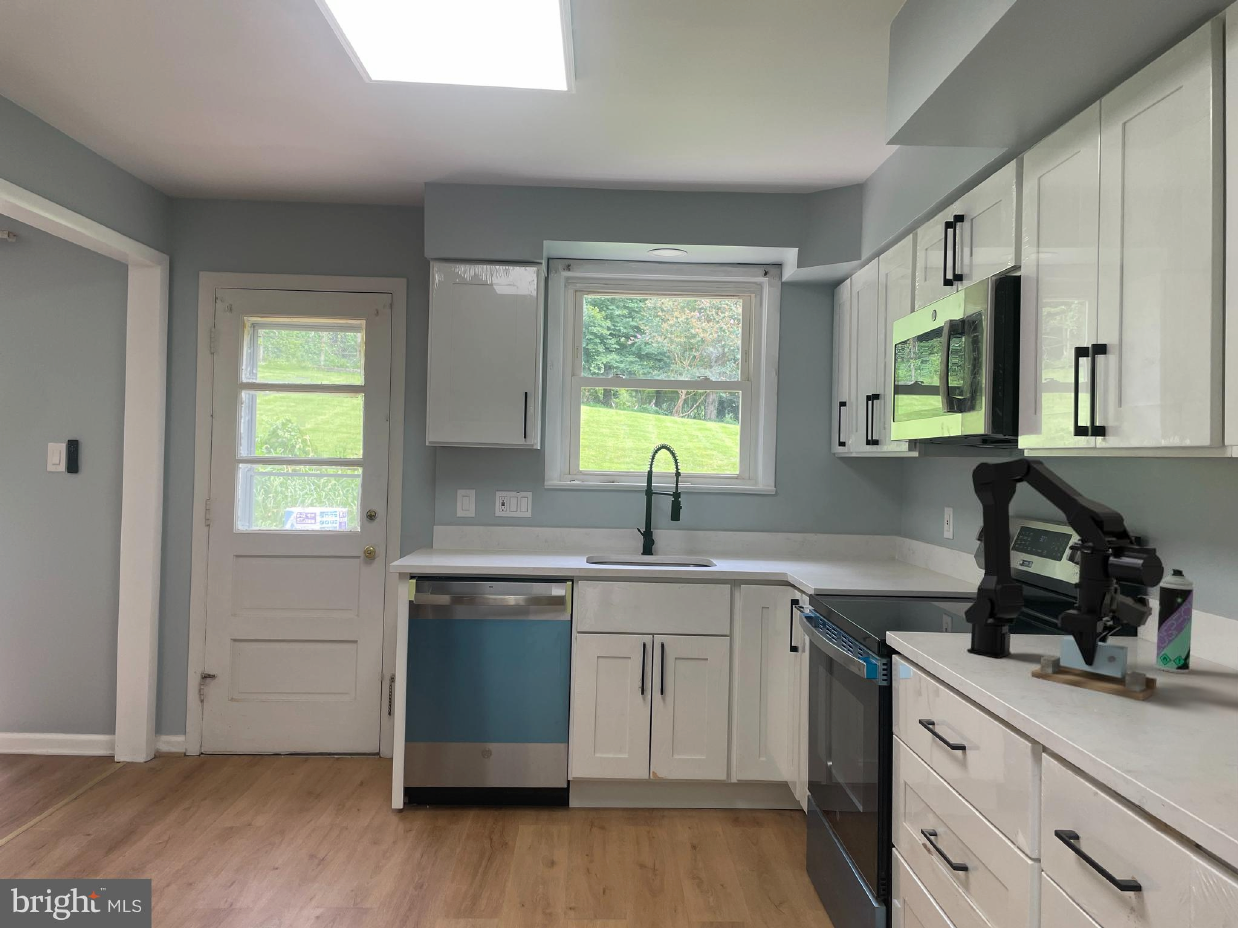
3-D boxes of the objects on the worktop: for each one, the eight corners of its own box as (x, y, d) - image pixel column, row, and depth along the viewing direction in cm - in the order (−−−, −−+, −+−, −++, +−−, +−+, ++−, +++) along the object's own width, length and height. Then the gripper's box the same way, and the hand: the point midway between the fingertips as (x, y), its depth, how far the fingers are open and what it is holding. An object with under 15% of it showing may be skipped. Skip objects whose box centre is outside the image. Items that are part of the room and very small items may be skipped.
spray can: (1149, 666, 164) (1154, 567, 163) (1169, 665, 165) (1174, 567, 165) (1175, 674, 158) (1180, 571, 158) (1195, 672, 160) (1201, 571, 160)
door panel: (1058, 665, 150) (1059, 638, 150) (1066, 662, 153) (1067, 636, 153) (1119, 678, 143) (1120, 649, 143) (1126, 675, 145) (1127, 647, 145)
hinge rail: (1031, 676, 152) (1032, 657, 152) (1047, 670, 157) (1048, 651, 157) (1142, 700, 139) (1143, 679, 139) (1155, 692, 144) (1156, 672, 144)
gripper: (1131, 589, 136) (1126, 682, 136) (1163, 580, 148) (1159, 666, 149) (1059, 579, 144) (1054, 667, 144) (1095, 572, 157) (1091, 653, 157)
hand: (1092, 664), depth 148 cm, fingers closed on door panel, 3 cm apart
